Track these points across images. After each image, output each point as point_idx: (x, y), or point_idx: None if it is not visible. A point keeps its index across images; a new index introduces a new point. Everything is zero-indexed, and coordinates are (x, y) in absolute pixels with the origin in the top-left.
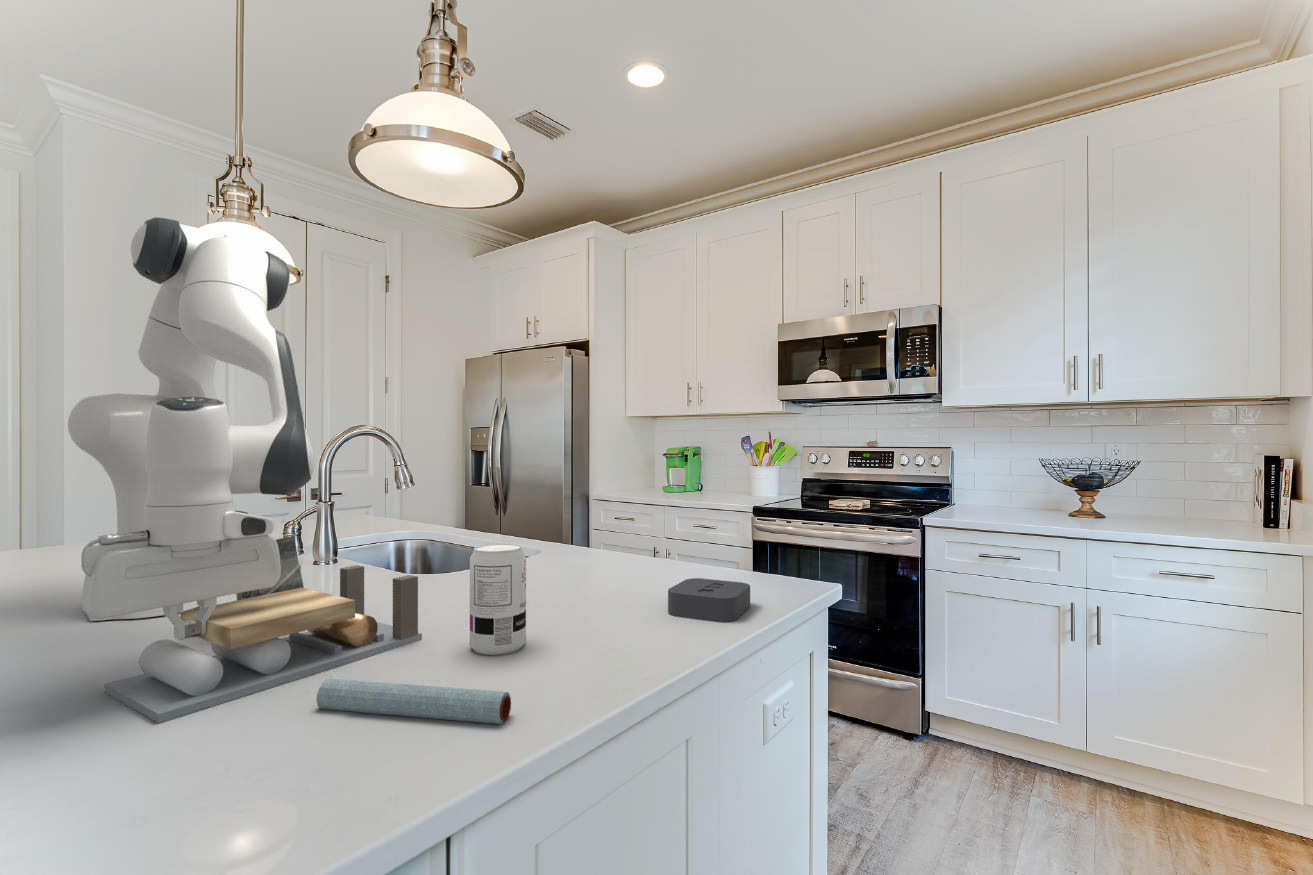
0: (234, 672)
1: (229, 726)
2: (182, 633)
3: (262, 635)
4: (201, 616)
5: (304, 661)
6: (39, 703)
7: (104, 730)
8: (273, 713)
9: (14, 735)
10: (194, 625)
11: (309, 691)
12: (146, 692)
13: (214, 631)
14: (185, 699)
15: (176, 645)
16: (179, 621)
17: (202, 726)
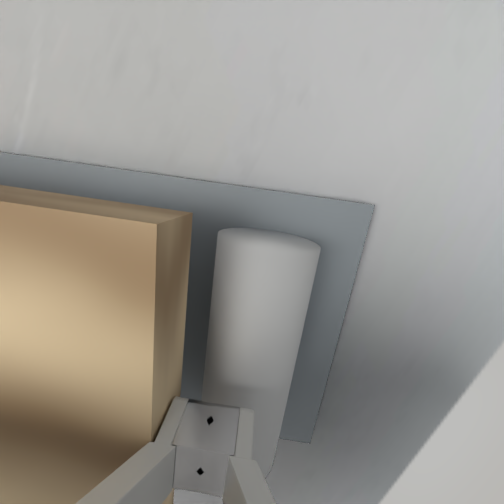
0: None
1: (323, 30)
2: (246, 424)
3: (63, 196)
4: (155, 479)
5: None
6: (373, 463)
7: (419, 265)
8: (234, 2)
9: (473, 375)
10: (201, 439)
11: (115, 58)
12: (307, 343)
13: (168, 357)
14: (299, 236)
15: None
16: (254, 484)
17: (345, 96)
